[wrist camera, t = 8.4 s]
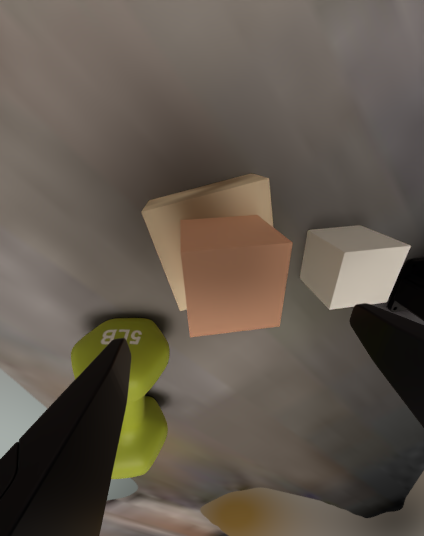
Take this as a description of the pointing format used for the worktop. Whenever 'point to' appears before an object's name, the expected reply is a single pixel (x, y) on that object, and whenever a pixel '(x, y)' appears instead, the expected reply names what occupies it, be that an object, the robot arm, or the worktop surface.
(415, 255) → the worktop surface
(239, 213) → the oak base block
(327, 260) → the offwhite cube
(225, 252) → the terracotta cube
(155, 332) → the dumbbell
